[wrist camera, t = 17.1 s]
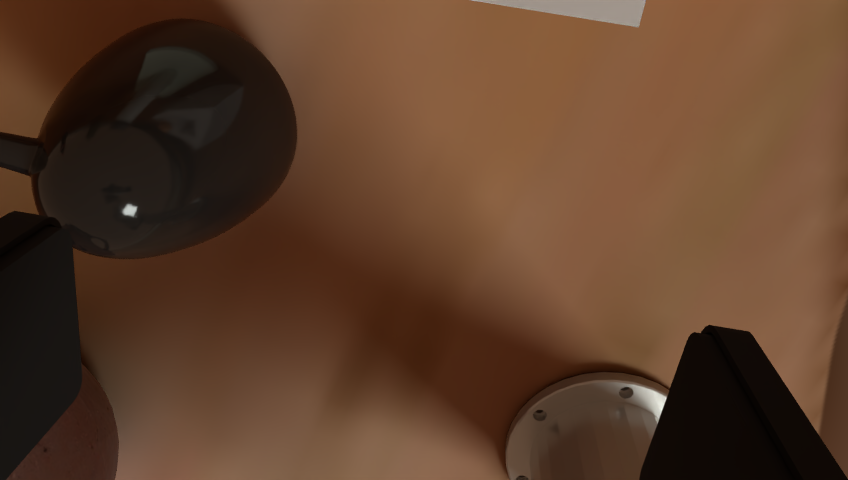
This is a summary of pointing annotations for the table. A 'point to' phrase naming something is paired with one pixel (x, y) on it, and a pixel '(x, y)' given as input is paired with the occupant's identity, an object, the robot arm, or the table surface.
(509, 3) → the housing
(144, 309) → the table surface
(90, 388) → the ceramic pitcher
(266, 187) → the pump dispenser
